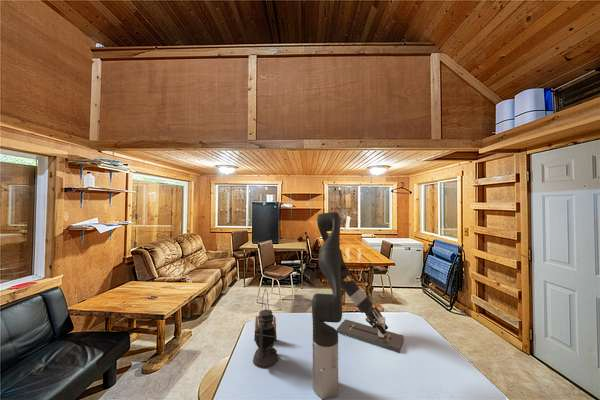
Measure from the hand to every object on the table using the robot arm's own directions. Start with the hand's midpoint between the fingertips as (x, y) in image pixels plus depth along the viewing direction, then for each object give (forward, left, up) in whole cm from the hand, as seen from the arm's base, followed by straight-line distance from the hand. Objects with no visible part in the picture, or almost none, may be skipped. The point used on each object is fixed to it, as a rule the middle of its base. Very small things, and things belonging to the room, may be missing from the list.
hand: (385, 331), depth 112 cm
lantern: (0, +58, -5) cm, 58 cm away
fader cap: (+1, +1, -2) cm, 3 cm away
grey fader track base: (+6, +6, -5) cm, 9 cm away
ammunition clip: (+14, +57, -5) cm, 58 cm away
